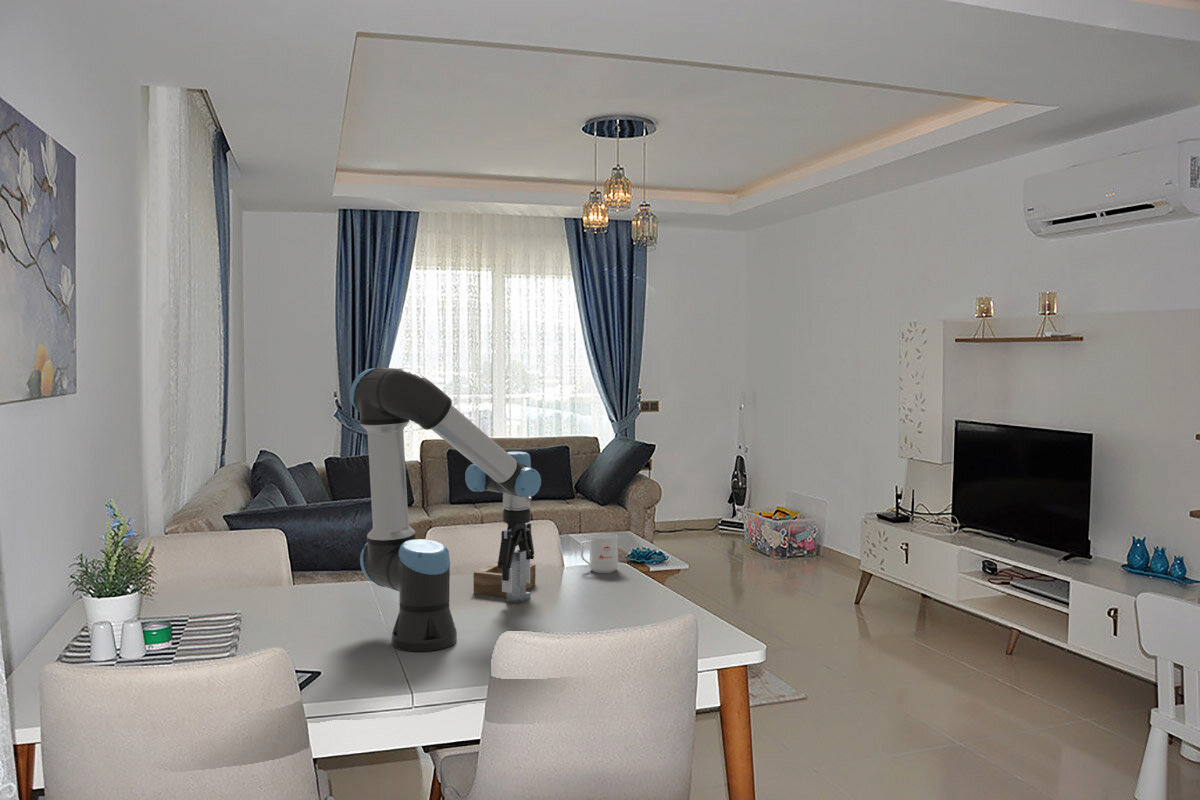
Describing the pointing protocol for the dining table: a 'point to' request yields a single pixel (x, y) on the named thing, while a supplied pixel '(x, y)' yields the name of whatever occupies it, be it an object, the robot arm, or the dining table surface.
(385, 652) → the dining table surface
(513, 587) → the bracket
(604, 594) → the dining table surface
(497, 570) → the box
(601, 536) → the mug
